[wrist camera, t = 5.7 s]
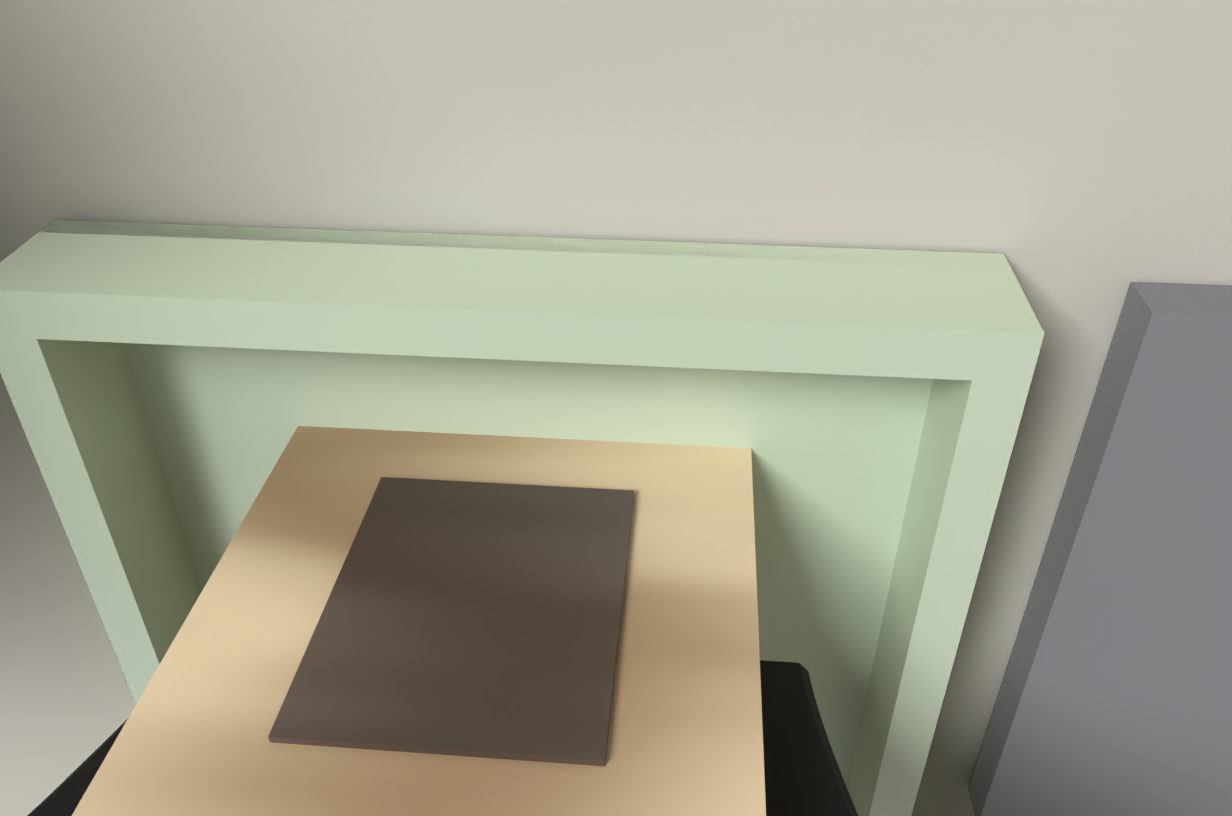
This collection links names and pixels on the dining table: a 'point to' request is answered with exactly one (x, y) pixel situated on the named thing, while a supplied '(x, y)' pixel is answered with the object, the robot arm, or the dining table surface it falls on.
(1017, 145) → the dining table surface
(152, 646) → the sage tray
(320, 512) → the letter block
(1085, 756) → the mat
